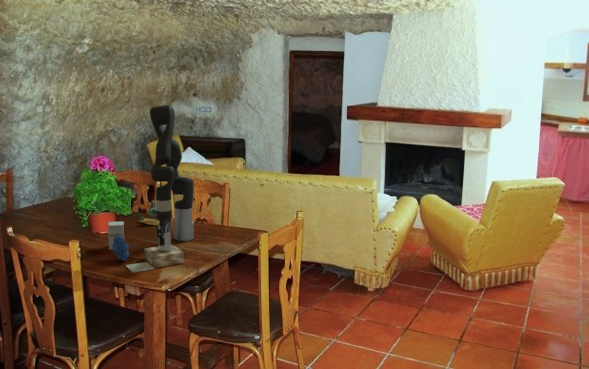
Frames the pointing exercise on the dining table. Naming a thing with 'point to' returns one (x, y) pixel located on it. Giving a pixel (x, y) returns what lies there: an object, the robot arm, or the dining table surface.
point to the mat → (140, 267)
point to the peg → (167, 243)
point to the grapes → (120, 247)
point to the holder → (163, 256)
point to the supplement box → (115, 231)
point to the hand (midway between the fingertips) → (164, 243)
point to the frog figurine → (151, 213)
